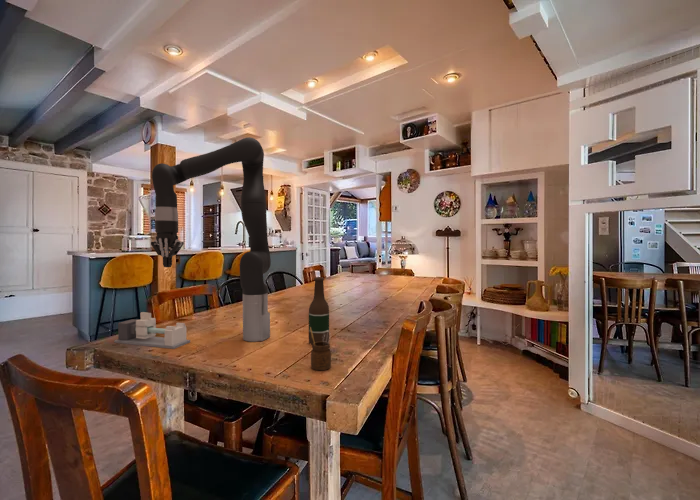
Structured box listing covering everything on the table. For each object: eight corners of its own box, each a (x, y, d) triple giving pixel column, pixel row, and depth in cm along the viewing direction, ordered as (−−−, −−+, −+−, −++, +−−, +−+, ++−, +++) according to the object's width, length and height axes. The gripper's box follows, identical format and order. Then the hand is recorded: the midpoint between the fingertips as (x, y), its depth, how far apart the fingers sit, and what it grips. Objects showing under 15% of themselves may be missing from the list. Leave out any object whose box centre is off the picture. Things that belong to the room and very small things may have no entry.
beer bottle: (333, 340, 129) (333, 276, 128) (323, 346, 122) (323, 279, 121) (315, 338, 132) (315, 275, 131) (304, 343, 125) (304, 277, 124)
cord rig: (190, 342, 126) (190, 322, 126) (173, 348, 119) (173, 328, 118) (133, 336, 133) (133, 318, 133) (114, 342, 126) (114, 322, 125)
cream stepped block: (155, 335, 128) (155, 311, 128) (145, 338, 124) (144, 314, 124) (147, 334, 129) (146, 311, 129) (136, 337, 125) (135, 313, 125)
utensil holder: (331, 370, 100) (331, 329, 99) (309, 371, 99) (309, 329, 99) (330, 363, 106) (331, 324, 105) (310, 363, 105) (310, 324, 105)
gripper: (189, 220, 129) (189, 266, 129) (159, 220, 132) (160, 266, 132) (174, 219, 121) (175, 268, 122) (143, 219, 125) (144, 267, 125)
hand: (167, 267), depth 127 cm, fingers closed
